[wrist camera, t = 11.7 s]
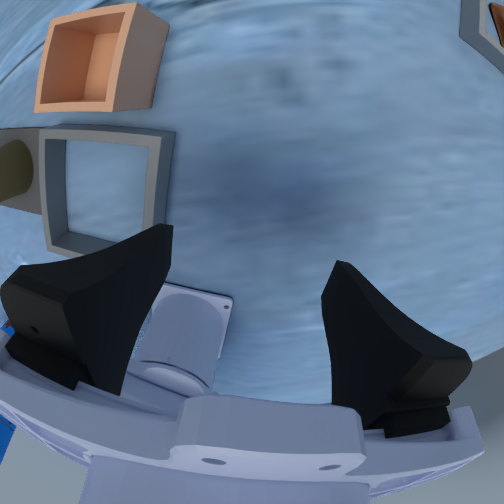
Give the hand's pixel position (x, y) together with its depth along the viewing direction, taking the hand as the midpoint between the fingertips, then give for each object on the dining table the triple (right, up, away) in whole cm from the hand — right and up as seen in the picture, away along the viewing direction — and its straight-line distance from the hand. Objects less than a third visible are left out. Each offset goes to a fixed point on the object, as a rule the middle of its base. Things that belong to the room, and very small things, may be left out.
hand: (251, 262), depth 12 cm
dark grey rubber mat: (-24, +9, +8) cm, 27 cm away
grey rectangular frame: (-13, +6, +9) cm, 17 cm away
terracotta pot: (-10, +15, +4) cm, 19 cm away
